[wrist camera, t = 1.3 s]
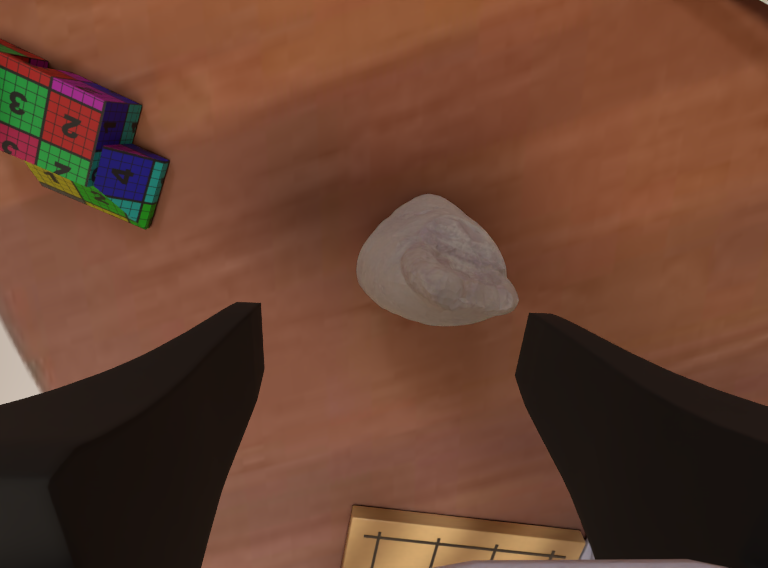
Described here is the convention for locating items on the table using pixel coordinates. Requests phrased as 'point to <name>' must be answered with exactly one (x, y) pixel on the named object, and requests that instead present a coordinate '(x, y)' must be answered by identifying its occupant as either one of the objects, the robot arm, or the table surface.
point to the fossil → (435, 266)
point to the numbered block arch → (77, 137)
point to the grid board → (448, 540)
